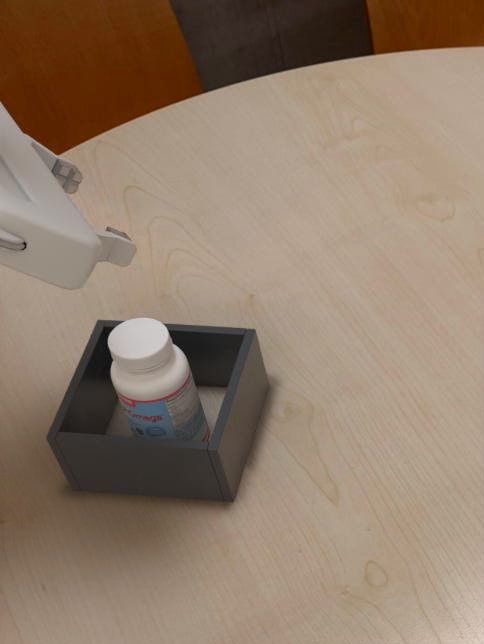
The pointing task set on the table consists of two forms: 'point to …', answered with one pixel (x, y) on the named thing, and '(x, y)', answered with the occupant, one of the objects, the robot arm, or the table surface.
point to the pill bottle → (155, 383)
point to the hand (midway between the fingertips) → (101, 215)
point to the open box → (154, 453)
